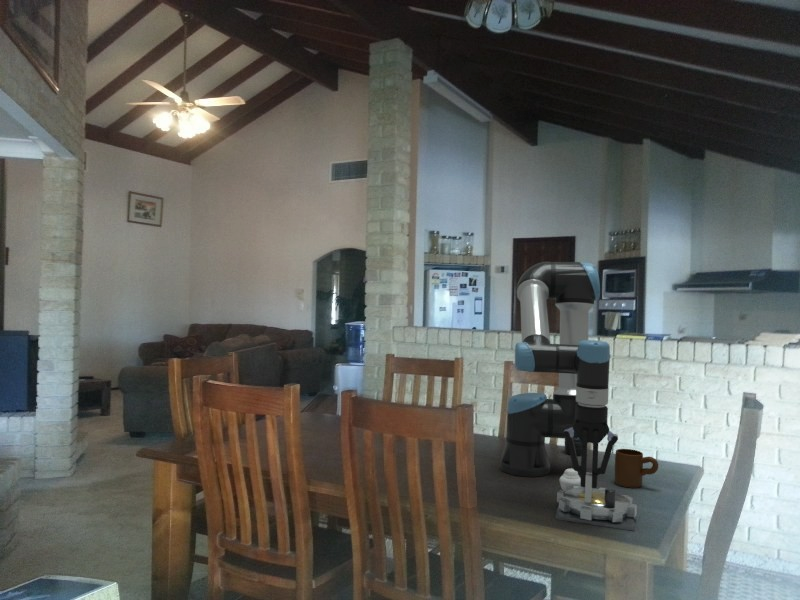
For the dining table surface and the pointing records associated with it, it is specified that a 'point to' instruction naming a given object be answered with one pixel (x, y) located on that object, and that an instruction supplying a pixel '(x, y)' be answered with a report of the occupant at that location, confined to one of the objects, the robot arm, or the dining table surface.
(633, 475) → the mug
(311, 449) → the dining table surface
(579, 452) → the supplement bottle
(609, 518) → the sprocket
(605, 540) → the dining table surface
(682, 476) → the dining table surface
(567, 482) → the muffin
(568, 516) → the base plate
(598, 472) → the robot arm
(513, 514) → the dining table surface
